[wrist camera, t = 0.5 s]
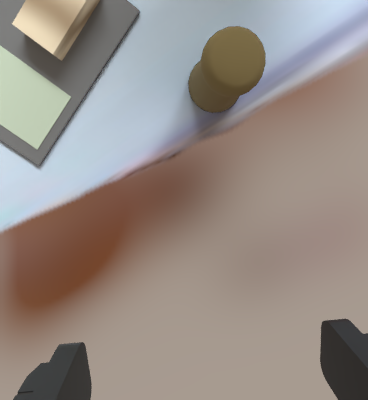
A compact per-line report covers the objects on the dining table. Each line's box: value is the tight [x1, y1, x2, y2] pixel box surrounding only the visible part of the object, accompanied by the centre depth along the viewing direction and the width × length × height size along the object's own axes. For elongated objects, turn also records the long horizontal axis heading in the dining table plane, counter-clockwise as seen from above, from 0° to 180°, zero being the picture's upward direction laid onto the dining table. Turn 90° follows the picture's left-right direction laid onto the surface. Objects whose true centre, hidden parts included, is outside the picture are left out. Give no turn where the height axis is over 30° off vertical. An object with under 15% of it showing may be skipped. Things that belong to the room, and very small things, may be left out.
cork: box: [188, 26, 265, 113], centre depth 28 cm, size 6×6×11 cm
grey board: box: [0, 0, 140, 166], centre depth 31 cm, size 20×12×1 cm, turn 144°
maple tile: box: [12, 0, 100, 61], centre depth 29 cm, size 8×4×2 cm, turn 144°
